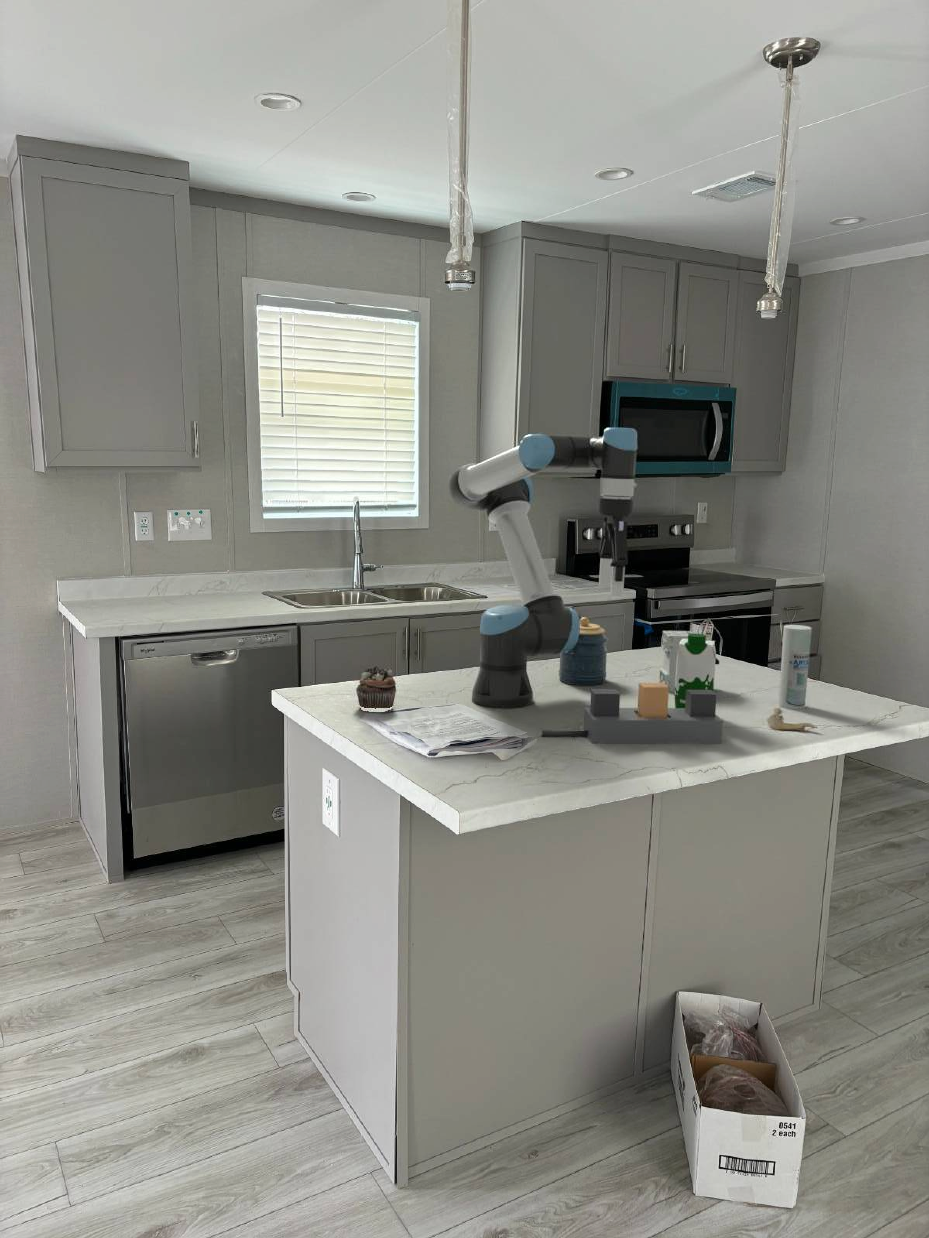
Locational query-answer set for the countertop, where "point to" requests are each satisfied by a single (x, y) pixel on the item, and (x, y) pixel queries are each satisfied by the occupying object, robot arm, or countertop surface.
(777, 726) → the jawbone
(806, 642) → the spray can
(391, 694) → the cupcake
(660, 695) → the plug
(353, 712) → the countertop surface
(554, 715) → the countertop surface
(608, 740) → the power strip
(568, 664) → the canister
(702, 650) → the milk carton
